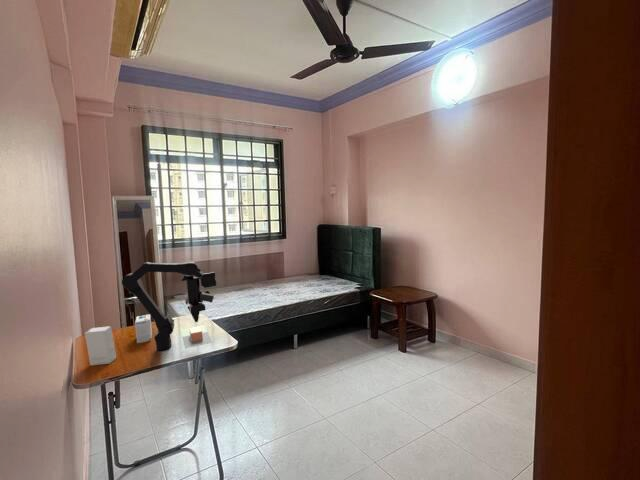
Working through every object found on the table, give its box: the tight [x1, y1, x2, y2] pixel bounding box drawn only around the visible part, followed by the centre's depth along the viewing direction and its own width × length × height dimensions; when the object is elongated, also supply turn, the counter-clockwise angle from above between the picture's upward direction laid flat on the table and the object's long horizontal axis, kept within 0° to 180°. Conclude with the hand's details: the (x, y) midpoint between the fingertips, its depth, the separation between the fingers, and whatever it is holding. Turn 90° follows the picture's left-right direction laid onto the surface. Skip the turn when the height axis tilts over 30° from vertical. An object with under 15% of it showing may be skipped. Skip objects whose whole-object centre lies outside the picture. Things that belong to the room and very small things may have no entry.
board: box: [180, 324, 213, 349], centre depth 168 cm, size 28×12×1 cm, turn 26°
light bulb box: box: [134, 313, 153, 344], centre depth 171 cm, size 11×7×11 cm, turn 25°
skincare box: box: [84, 325, 117, 366], centre depth 145 cm, size 8×6×15 cm
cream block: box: [188, 325, 203, 342], centre depth 165 cm, size 4×5×9 cm
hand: (196, 321), depth 157 cm, fingers closed
